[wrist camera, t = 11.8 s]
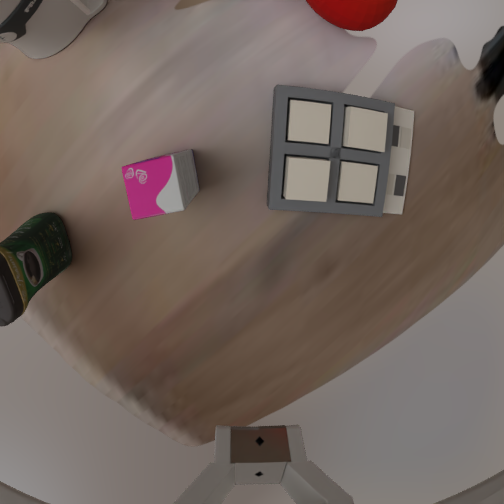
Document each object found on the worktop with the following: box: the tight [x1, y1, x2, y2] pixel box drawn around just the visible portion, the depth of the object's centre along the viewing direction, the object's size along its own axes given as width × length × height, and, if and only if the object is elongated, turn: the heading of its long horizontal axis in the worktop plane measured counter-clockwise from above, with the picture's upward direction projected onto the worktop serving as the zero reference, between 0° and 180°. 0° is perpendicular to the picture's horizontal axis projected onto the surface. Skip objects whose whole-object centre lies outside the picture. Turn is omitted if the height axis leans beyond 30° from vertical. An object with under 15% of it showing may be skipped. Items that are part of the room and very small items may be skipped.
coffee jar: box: [0, 213, 72, 326], centre depth 33 cm, size 10×8×19 cm
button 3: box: [283, 156, 331, 202], centre depth 37 cm, size 5×5×2 cm
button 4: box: [285, 100, 331, 144], centre depth 36 cm, size 5×5×2 cm
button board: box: [267, 85, 414, 217], centre depth 38 cm, size 16×20×3 cm
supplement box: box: [122, 150, 200, 220], centre depth 34 cm, size 6×6×12 cm
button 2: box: [342, 107, 388, 152], centre depth 35 cm, size 5×5×2 cm
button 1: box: [336, 160, 378, 203], centre depth 39 cm, size 5×5×2 cm
